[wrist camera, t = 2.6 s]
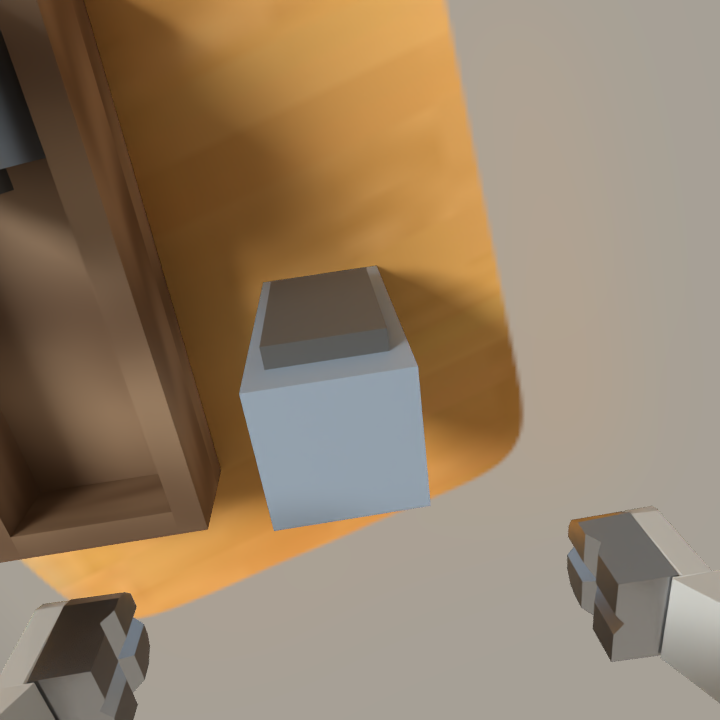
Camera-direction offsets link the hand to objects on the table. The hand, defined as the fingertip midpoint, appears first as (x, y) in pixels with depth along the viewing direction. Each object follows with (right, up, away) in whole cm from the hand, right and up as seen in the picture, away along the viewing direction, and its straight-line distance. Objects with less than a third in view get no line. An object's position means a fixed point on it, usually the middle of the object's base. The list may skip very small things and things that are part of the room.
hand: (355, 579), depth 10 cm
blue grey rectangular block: (-1, +5, +10) cm, 11 cm away
